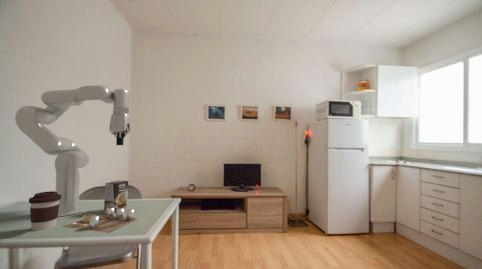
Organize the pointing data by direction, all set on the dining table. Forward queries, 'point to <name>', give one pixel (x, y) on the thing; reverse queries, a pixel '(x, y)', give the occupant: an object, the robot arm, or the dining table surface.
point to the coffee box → (116, 195)
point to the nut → (87, 218)
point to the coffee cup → (44, 210)
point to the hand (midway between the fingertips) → (119, 145)
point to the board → (102, 224)
